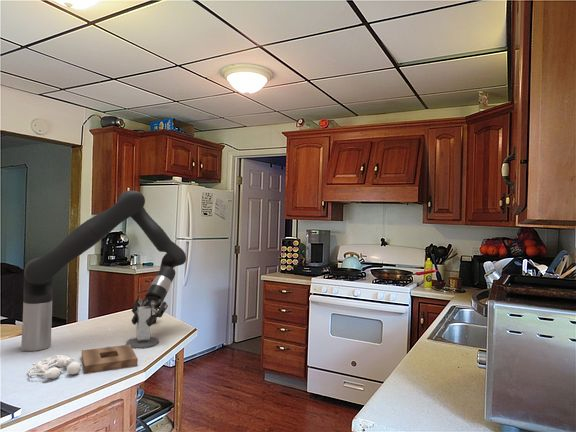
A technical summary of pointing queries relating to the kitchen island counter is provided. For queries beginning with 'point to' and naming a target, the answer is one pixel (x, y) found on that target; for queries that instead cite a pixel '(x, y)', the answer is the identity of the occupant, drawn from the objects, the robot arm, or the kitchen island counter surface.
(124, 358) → the socket block
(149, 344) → the rubber pad
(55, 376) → the tangled rod sculpture
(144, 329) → the steel peg
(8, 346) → the kitchen island counter surface
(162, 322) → the kitchen island counter surface
